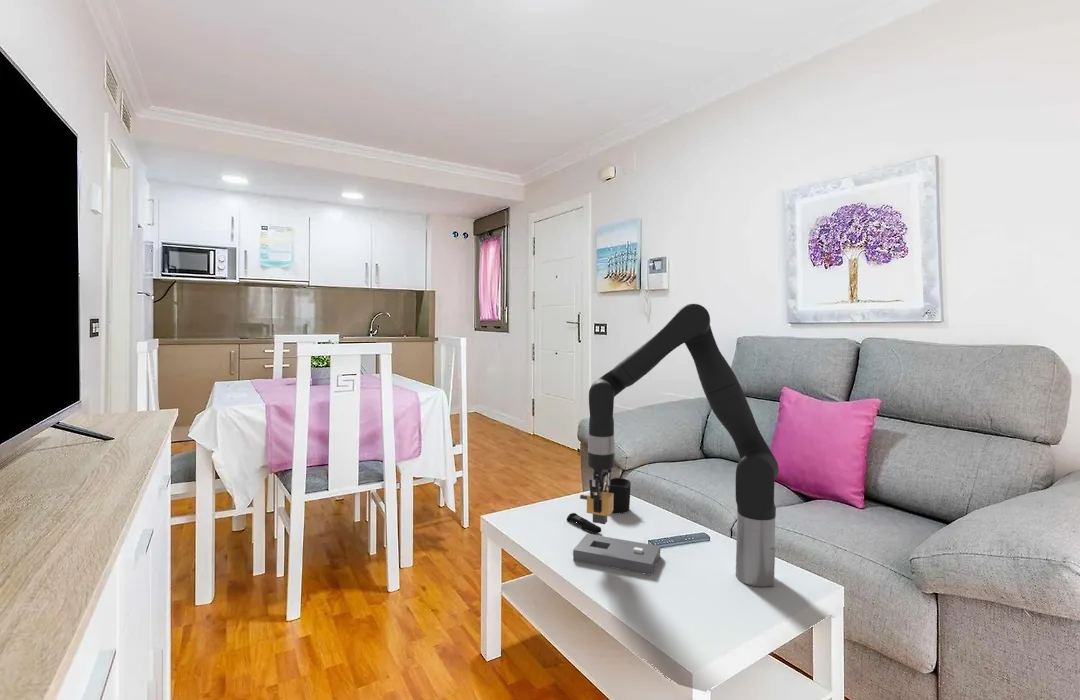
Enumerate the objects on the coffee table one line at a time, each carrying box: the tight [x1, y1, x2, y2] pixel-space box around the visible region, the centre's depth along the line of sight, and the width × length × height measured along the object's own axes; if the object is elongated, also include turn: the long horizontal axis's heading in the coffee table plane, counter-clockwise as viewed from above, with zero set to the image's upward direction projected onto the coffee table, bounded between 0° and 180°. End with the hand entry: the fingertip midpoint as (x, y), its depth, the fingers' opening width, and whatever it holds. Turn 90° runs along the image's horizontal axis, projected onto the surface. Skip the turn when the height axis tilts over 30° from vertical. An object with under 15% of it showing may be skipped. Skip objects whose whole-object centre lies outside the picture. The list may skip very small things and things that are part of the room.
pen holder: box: [608, 477, 632, 514], centre depth 186 cm, size 9×9×10 cm
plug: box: [579, 492, 614, 525], centre depth 150 cm, size 9×5×8 cm, turn 66°
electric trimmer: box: [566, 512, 602, 535], centre depth 170 cm, size 4×16×3 cm, turn 33°
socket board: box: [572, 533, 661, 576], centre depth 148 cm, size 22×12×4 cm, turn 67°
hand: (600, 508), depth 150 cm, fingers closed on plug, 5 cm apart
